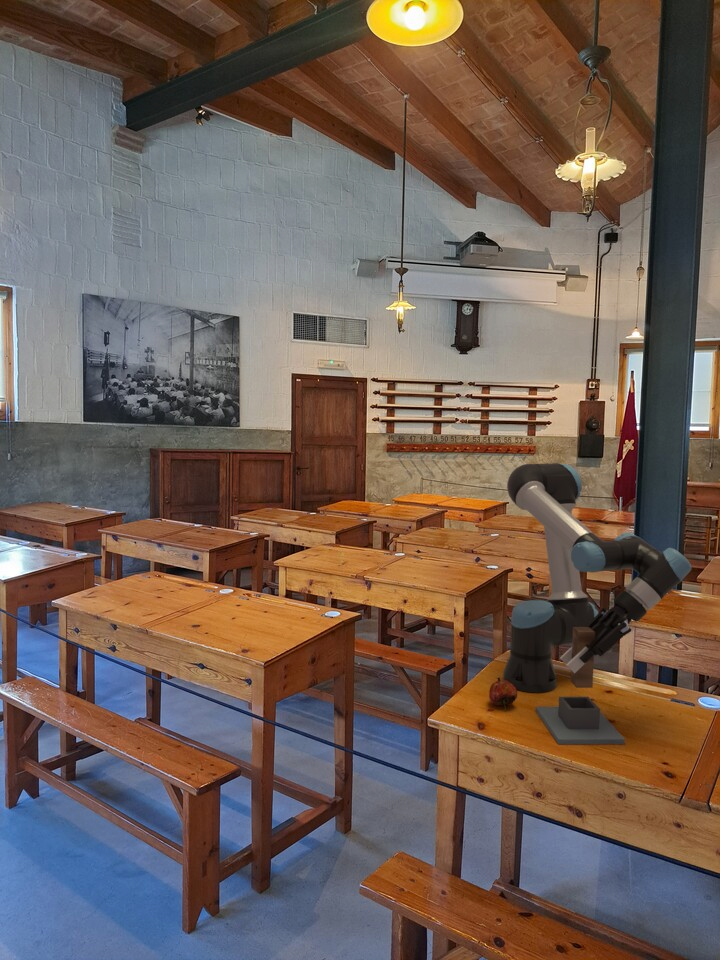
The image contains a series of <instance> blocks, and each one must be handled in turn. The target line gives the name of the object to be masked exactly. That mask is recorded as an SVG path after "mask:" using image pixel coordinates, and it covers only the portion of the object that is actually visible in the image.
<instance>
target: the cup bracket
mask: <svg viewBox="0 0 720 960" xmlns="http://www.w3.org/2000/svg"><path fill="white" fill-rule="evenodd" d="M535 712H536V714H537V716H538V717H539V719H541V720H540V721H542V723H543V724H544V725H545V727H546V728H547V730H548V731H549V733H550V734H551V735H552V737H553V739H554V740H555V741H556V743H557V745H626V739H625V738H624V736H623V735H622V734H621V733H620V732H619V731H618V730H617V729H616V728H615V726H614V725H613V724H612V723H611V722H610V721H609V720H608V719H607V718H606V717H605V716H604V714H603V713H602V712H601V709H600V708H599V706H597V704H596V703H595V702H594V701H593V700H592V699H591V698H590V697H589V696H558V706H535Z"/></svg>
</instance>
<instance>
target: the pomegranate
mask: <svg viewBox="0 0 720 960" xmlns="http://www.w3.org/2000/svg"><path fill="white" fill-rule="evenodd" d="M496 680H497V681H495V682H493V683H492V684H491V685H490V687H489V691H488V692H489V693H488V695H489V696H488V697H489V701H490V702H491V703H492V704H493V705H494V706H496V707H497V706H504V711H505V712H507V706H508V705H512V704H514V702H515V701H516V700H517V698H518V690H517V689H516V688H515V687H514V685H513V684H511V683H510V682H508V681H506V680H503V679H501V678H500V677H496Z"/></svg>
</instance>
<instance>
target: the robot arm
mask: <svg viewBox="0 0 720 960" xmlns="http://www.w3.org/2000/svg"><path fill="white" fill-rule="evenodd" d="M506 488H507V493H508V497H509V498H510V500H511V501H512V503H513V504H515V506H517V507H518V508H519V509H520V510H522V511H527V512H529V514H530V515H531V516H532V517H534V518H535V520H537V522H539V523H540V524H541V526H543V529H544V538H545V545H546V546H545V547H546V552H547V553H546V554H547V562H548V570H549V578H550V586H551V594H550V595H549V597H548V598H547V600H546V601H545V600H542V599H539V600H534V599H533V600H532V599H531V600H525V601H521V602H519V603H516V604H515V606H513V608H512V611H511V612H512V613H511V619H510V624H511V625H510V645H509V646H510V647H509V648H510V653H509V656H508V658H507V661H506V664H505V667H504V670H503V674H502V680H506V681H508V682H510V683H511V684H513V685H514V687H515V688H516V690H517V691H522V692H526V693H548V692H551V691H554V690H555V689H556V688H557V675H556V671H555V667H554V663H553V659H552V651H553V650H552V649H553V647H556V646H566V645H571V644H572V639H573V627H589V628H591V629H592V630H593V631H594V632H595V640H594V641H593V642H592V643H591V644H590V645H588V644H586V647H584V648H583V649H582V650H581V651H580V652H579V653H578V654H577V655H576V656H575V657H574V658H573V659H572V646H571V647H570V648H569V649H567V650H566V652H564V653H563V654H562V655H561V656H560V657H559V659H560V660H561V661H562V662H563V663H564V664H565V666H567V667H568V669H569V670H570V671H571V670H572V671H573V672H574V673H576V672H577V671H578V670H579V669H580V668H581V667H582V666H583V665H584V664H585V663H586V662H587V661H588V660H589V659H590V658H592V657H593V656H594V657H595V656H599V657H602V656H604V655H605V654H606V653H607V652H608V651H610V649H611V648H613V646H614V645H616V644H617V643H618V642H619V641H620V640H621V639H622V638H623V637H625V636H626V635H627V634H629V633H630V632H632V628H631V627H630V626H629V624H630V623H631V622H632V621H633V622H635V623H638V622H639V621H640V620H641V619H643V617H644V616H646V615H647V612H648V610H649V611H650V610H652V609H653V608H654V607H655V606H658V603H660V602H661V600H662V599H663V598H664V597H665V596H667V594H669V593H670V592H671V591H672V590H673V589H674V588H675V587H677V586H678V584H680V583H681V582H683V579H685V577H686V576H687V575H688V574H689V573H690V572H691V571H692V564H691V562H690V561H689V559H688V558H686V557H685V556H684V555H683V554H682V553H681V552H679V551H678V550H677V549H675V548H672V547H668V548H666V549H665V550H663V551H660V550H658V549H657V548H655V546H653V545H651V544H649V543H648V542H646V541H645V540H644V539H642V537H639V536H637V535H636V534H633V533H631V532H623V533H622V534H621V535H617V537H615V539H613V540H602V538H600V537H599V536H597V535H596V534H595V533H594V532H593V531H591V530H590V529H589V528H588V527H587V526H586V525H585V524H584V523H582V522H581V521H580V520H579V519H578V518H577V517H575V516H574V515H573V509H574V508H575V507H577V506H576V505H577V501H576V500H577V499H579V498H580V496H581V492H582V490H583V483H582V478H581V475H580V474H579V472H578V471H577V469H576V468H574V467H573V466H572V465H570V464H567V463H560V462H559V463H558V462H555V463H553V462H552V463H526V464H521V465H520V466H518V467H516V468H515V469H513V470H512V472H511V473H510V474H509V477H508V479H507V482H506ZM619 570H620V571H621V570H633V571H635V572H636V573H638V574H639V575H638V576H636V577H635V578H633V580H632V581H631V582H629V584H627V586H626V587H625V590H622V591H621V592H620V593H619V594H617V596H616V597H614V598H613V602H614V603H615V605H614V606H612V607H611V608H609V610H607V609H606V608H605V607H602V608H601V609H600V610H599V611H598V609H596V606H595V604H594V603H592V602H590V600H589V595H588V594H586V593H585V592H584V591H583V590H582V583H581V582H582V581H581V574H580V572H581V573H599V572H609V571H619Z"/></svg>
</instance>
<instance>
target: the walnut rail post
mask: <svg viewBox="0 0 720 960" xmlns="http://www.w3.org/2000/svg"><path fill="white" fill-rule="evenodd" d="M594 640H595V632H594V631H593V630H592V629H591V628H589V627H573V639H572V645H571V647H572V659H573V658H574V657H575V656H576V655H577V654H578V653H579V652H580V651H581V650H582V649H583V648H584V647H586V644H588V645H590V644H591V643H592V642H593V641H594ZM594 662H595V655H594V656H593V657H592V658H590V659H589V660H588V661H587V662H586V663H585V664H584V665H583V666H582V667H581V668H580V669H579V670H578V671H577V672H576V673H574V672H573V671H572V670H571V669H570V683H572V685H573V686H574V687H575V688H577V689H580V688H581V689H587V688H589V689H592V688H593V686H594V685H593V680H594V666H595V665H594Z"/></svg>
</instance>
